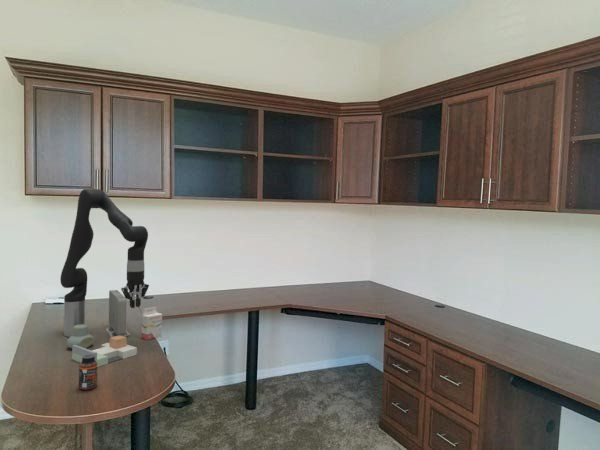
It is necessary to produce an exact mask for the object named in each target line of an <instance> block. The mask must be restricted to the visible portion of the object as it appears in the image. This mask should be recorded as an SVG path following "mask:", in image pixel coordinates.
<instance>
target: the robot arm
mask: <svg viewBox="0 0 600 450" xmlns="http://www.w3.org/2000/svg"><path fill="white" fill-rule="evenodd" d="M91 209H101V210H103V211H104V212H105V213H106V214H107V218H108V220H109V223H111V224H112V225H113V226H114V227H115V228H116V229H117V230H118V231H119V233H120V234H121V236H122V237H123V239H124V240H125V241H128V242H129V243H133V245H132V246H130V247H128V249H127V262H126V281H127V282H126V284H125V286H123V287H121V289H120V290H121V293H123V294H122V295H123V296H124V297H125V298H126V300H127V299H128V300H129V307H130V308H131V309H135V307H136V308H140V307H141V305H142V304H141V303H142V302H141V301H142V298H144V297H146V294H147V291H148V289H149V287H150V285H149V284H146V283H145V281H144V280H145V248H146V247H147V242H148V239H149V232H148V229H147V228H146V227H145V226H142V225H137V226H135V225H134V226H133V224H134V223H133V220H132V219H131V218H130V217H128V215H126V214H125V213H124V212H123V211H121V210H120V209H119V208H118V206H117V205H115V202H113V201H112V199H111V198H110V197H109V196H108V195H107V194H106V192H104V190H101V189H98V188H97V189H95V188H94V189H93V188H85V189H84V188H83V189H82V190H81V191H80V193H79V196H78V200H77V208H76V216H75V221H74V227H73V231H72V234H71V238H70V243H69V248H68V252H67V255H66V259H65V262H64V264H63V267H62V269H61V273H60V278H59V279H60V284H61V286H62V287H63V288H64V289H71V288H72V290H71V291H70V292H68V293H66V294H65V295H64V297H63V299H64V301H63V302H64V306H63V307H64V308H63V309H64V311H63V312H64V313H63V336H65V337H69V338H70V337H71V336H73V327H74V326H76V325H81V324H85V325H86V296H87V291H88V289H87V288H88V273H87V270H86V269H85V268H83V267H78V264H79V263H80V261H81V260H82V259H83V258H84V256H85V255H87V253H88V252H89V250H90V249H91V247H92V245H93V239H94V230H93V227H92V225H91V222H90V213H91Z"/></svg>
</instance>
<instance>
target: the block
mask: <svg viewBox="0 0 600 450" xmlns="http://www.w3.org/2000/svg"><path fill="white" fill-rule="evenodd" d="M127 338H128V336H127V337H124V336H121V335H115V337H109V342H108V343H109V347H111V348H114V349H119V348H122V347H125V346H126V344H127V343H128V342H127V340H128V339H127ZM127 345H128V344H127Z"/></svg>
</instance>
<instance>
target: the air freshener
mask: <svg viewBox="0 0 600 450" xmlns="http://www.w3.org/2000/svg"><path fill="white" fill-rule="evenodd" d="M94 341H95V339H94V336H93V335H92V334H90V333H89V325H87V324H86V323H85V324H81V325H76V326H74V327H73V336H71V337H69V338H68V339H67V340H66V344H67V346H68V347H69V348H70V349H72V345H77V346H80V347H83V348H86V349H88V348H89V347H90V346H92V345H93V343H94Z"/></svg>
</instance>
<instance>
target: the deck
mask: <svg viewBox="0 0 600 450" xmlns="http://www.w3.org/2000/svg"><path fill="white" fill-rule="evenodd" d="M71 351H72V353H71V355H72V356H71V360H72V361H75V362H77V363H79V364H80V363H81V362H82V357H83V356H84V355H94V356H95V359H94V360H95V361H97V368H98V367H99V368H100V367H102V366H106V365H108V364H112V363H115V362H117V361H120V360H124V359H126V358H130V357H131V358H132V357H133V356H137V355H138V348H137V347H136V346H133V345H129V344H126V346H125V347H122V348H119V349H114V348H111V347H109V342H106V343H103V344H101V345H100V348H97V349H93V350H91V349H88V348H83V347H80V346H77V345H72V348H71Z"/></svg>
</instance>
